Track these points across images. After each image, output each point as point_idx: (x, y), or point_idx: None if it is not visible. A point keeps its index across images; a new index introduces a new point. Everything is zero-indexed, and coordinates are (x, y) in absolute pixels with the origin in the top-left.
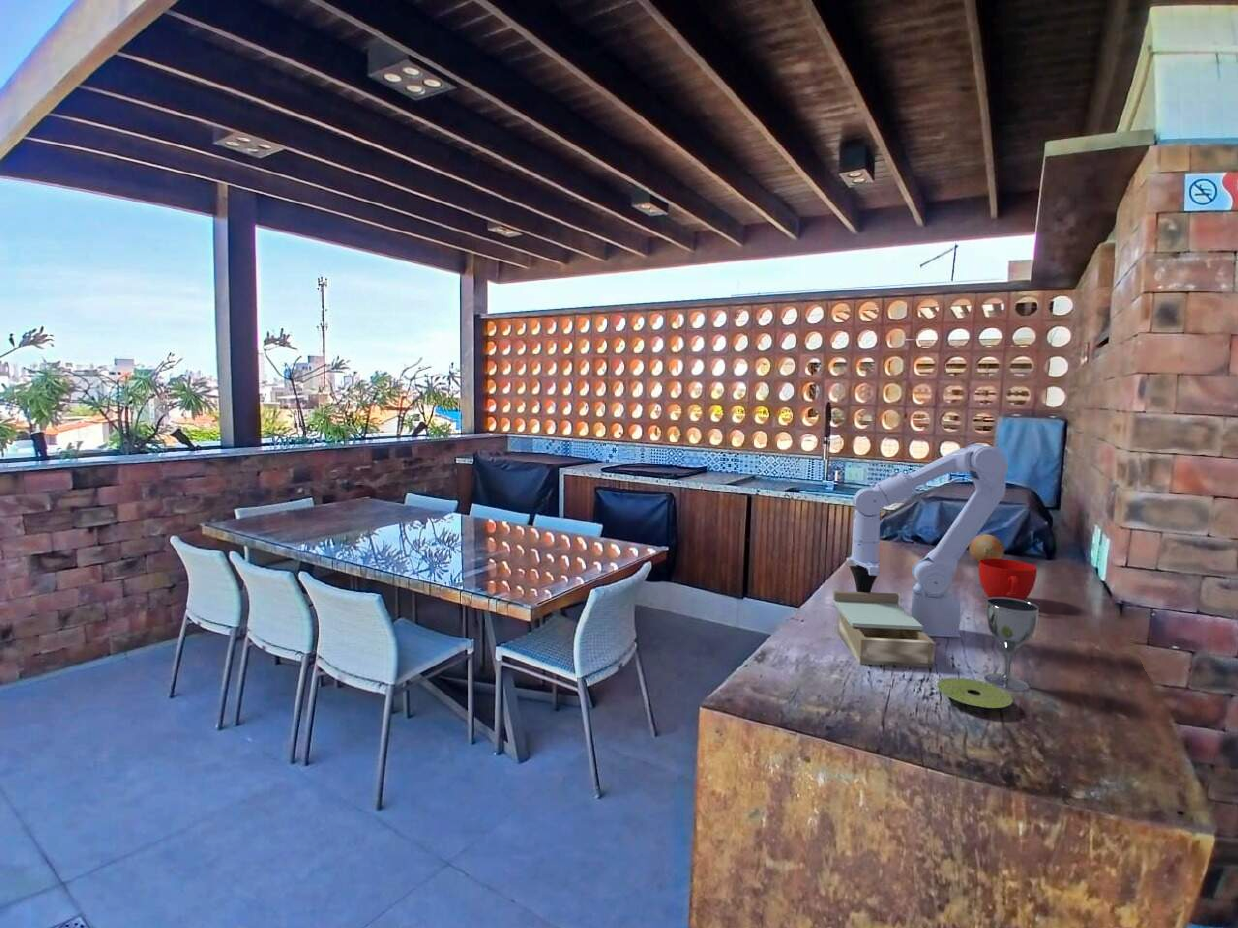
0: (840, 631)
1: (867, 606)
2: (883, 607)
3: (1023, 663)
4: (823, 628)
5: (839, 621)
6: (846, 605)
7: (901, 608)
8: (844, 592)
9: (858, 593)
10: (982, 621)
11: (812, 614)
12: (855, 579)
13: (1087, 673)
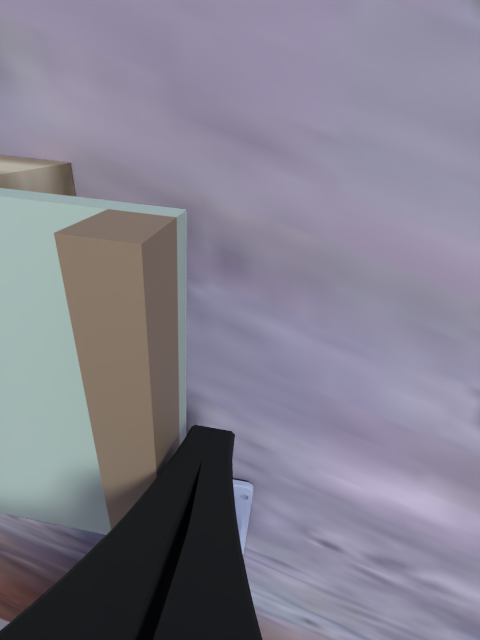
0: (22, 162)
1: (49, 400)
2: (62, 467)
3: (12, 549)
4: (152, 91)
5: (16, 171)
6: (16, 270)
7: (73, 523)
8: (103, 341)
9: (105, 440)
10: (281, 628)
11: (446, 99)
12: (183, 574)
13: (5, 593)
